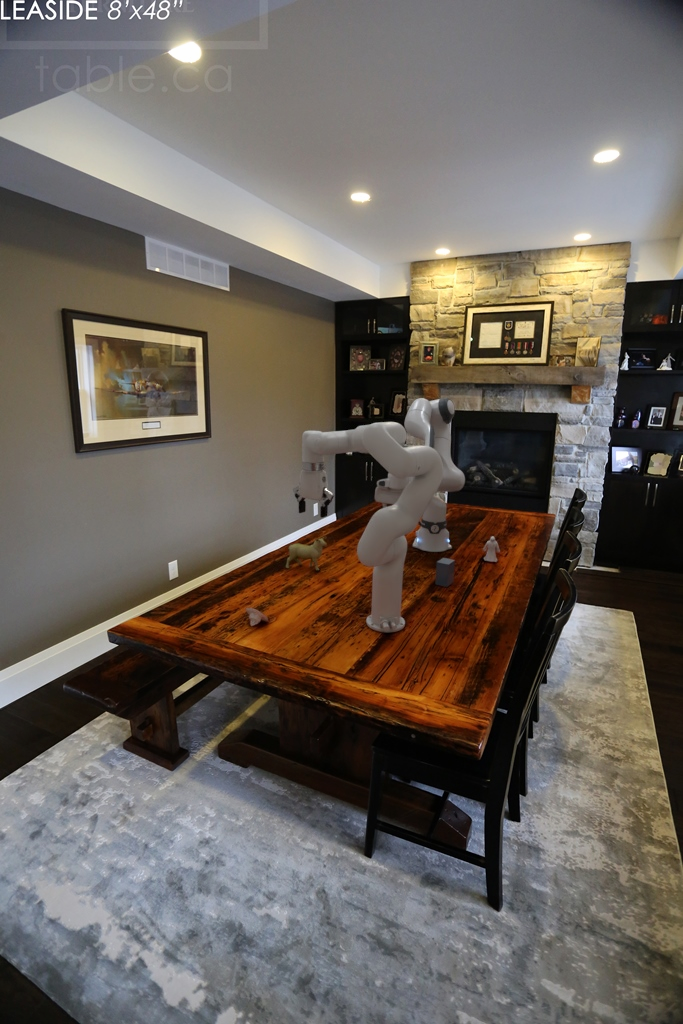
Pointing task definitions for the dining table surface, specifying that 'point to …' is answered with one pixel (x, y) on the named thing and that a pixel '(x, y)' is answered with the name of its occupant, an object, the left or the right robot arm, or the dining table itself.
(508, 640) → the dining table surface
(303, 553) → the toy
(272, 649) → the dining table surface
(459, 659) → the dining table surface
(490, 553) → the figurine
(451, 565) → the brick
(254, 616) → the seashell
